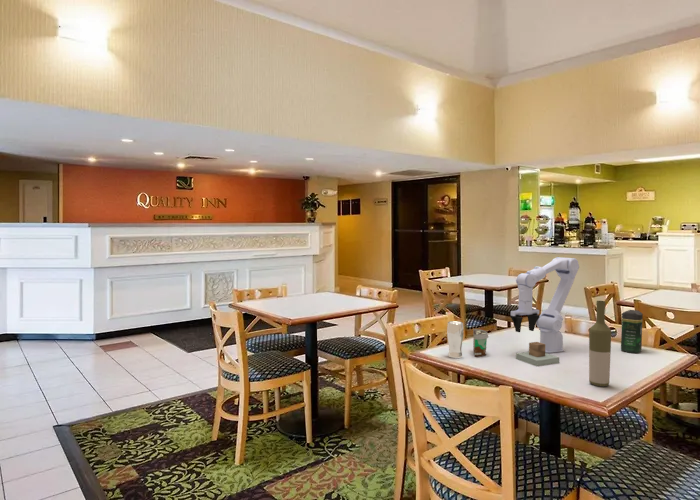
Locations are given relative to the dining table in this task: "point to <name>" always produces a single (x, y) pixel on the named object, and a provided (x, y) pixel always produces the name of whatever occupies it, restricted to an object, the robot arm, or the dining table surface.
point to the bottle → (599, 349)
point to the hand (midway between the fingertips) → (524, 331)
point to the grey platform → (537, 359)
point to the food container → (479, 342)
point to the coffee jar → (631, 331)
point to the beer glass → (455, 338)
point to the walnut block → (537, 349)
